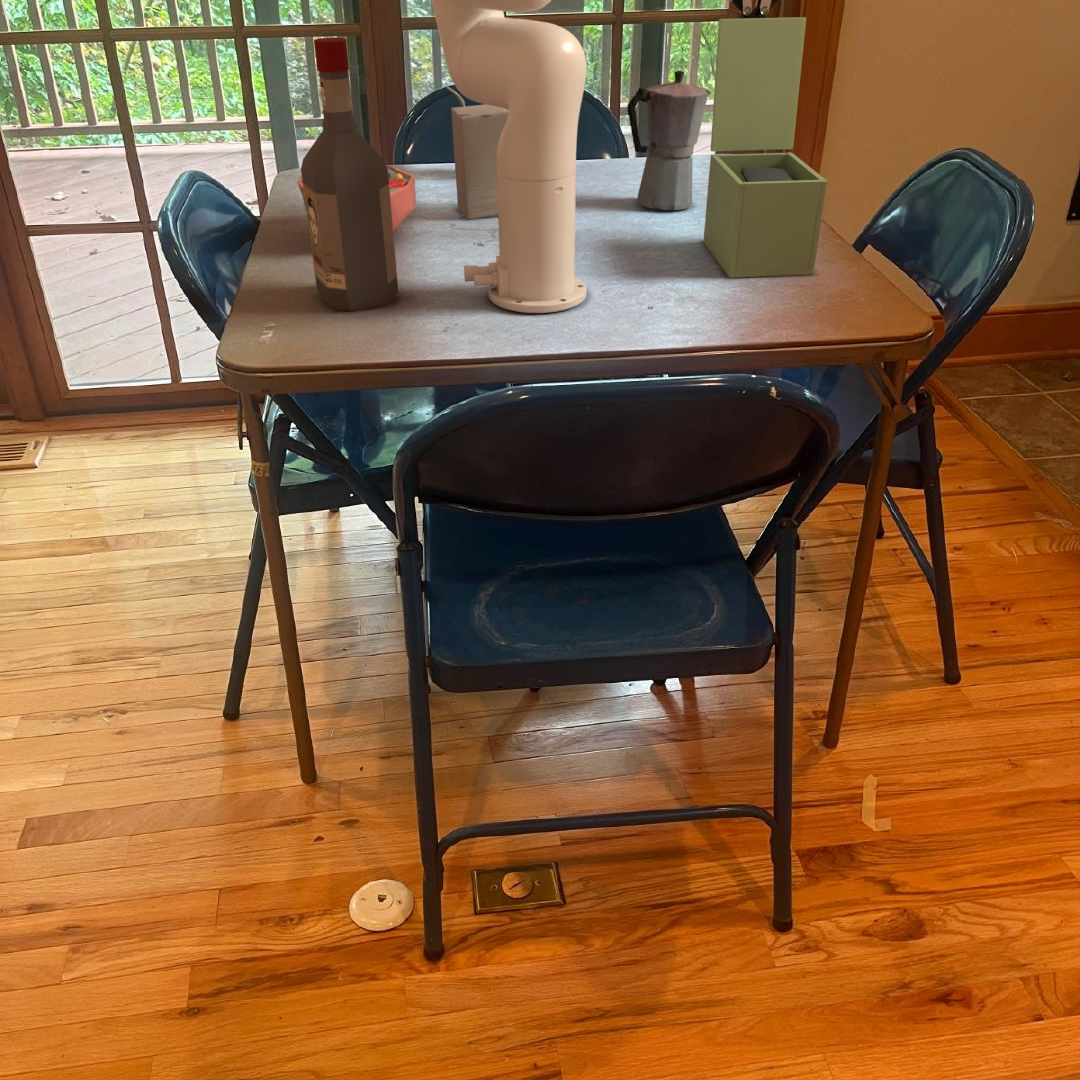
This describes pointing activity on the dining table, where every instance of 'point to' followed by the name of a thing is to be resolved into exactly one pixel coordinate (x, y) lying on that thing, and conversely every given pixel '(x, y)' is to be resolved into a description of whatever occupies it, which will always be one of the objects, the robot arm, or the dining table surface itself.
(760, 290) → the dining table surface
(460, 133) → the cosmetic box
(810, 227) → the chest
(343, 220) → the liquor
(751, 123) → the lid
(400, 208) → the cell model
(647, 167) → the moka pot
